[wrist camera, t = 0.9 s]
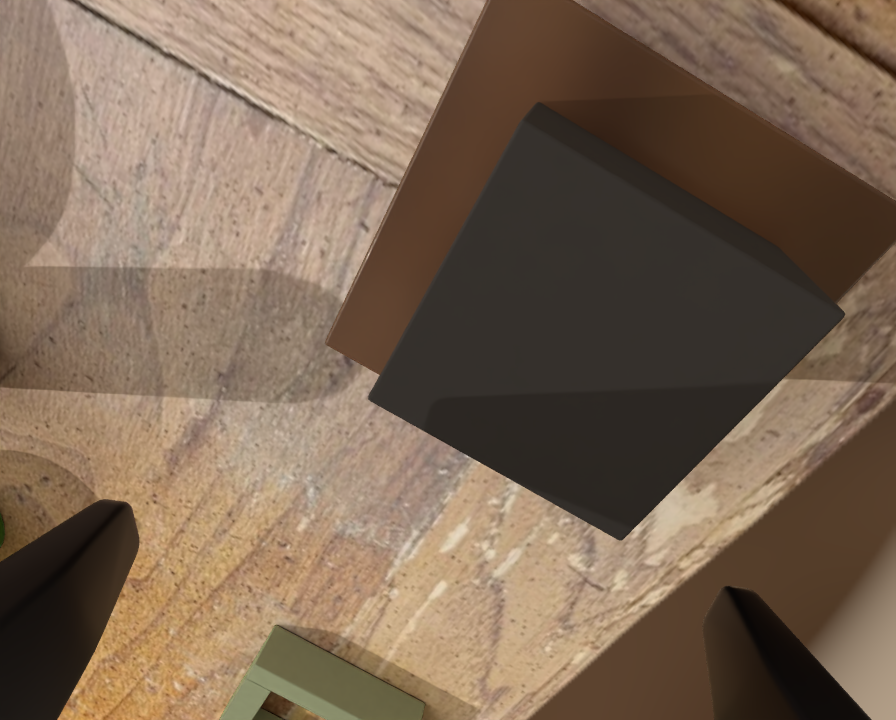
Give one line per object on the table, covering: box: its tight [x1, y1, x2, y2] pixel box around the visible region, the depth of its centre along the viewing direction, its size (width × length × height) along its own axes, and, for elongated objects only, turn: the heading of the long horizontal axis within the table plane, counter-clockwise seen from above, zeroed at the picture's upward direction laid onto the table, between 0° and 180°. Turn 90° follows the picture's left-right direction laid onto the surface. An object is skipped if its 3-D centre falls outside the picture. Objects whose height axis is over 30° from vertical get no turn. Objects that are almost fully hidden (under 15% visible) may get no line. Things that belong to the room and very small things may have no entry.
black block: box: [368, 102, 845, 540], centre depth 12 cm, size 6×6×4 cm
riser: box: [325, 0, 896, 375], centre depth 17 cm, size 9×9×8 cm
